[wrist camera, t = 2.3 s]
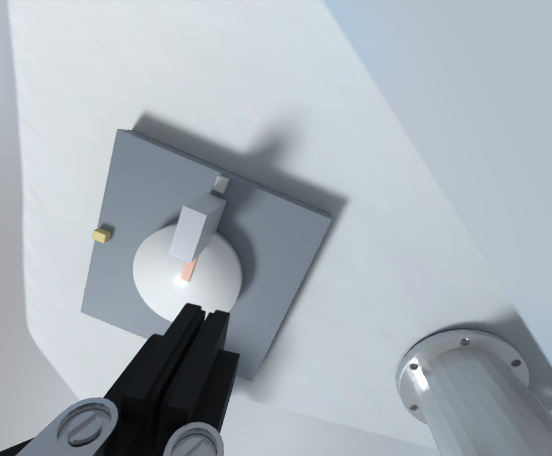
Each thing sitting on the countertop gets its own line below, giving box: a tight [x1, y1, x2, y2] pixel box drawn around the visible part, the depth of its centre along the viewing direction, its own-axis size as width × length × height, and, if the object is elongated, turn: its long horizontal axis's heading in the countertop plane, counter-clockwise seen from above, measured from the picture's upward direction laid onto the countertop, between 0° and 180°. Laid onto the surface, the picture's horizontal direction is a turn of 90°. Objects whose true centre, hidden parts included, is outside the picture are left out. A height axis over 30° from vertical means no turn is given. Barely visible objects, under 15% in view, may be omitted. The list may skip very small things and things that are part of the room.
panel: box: [81, 129, 332, 381], centre depth 28 cm, size 20×20×3 cm
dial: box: [133, 193, 243, 322], centre depth 24 cm, size 13×10×5 cm
